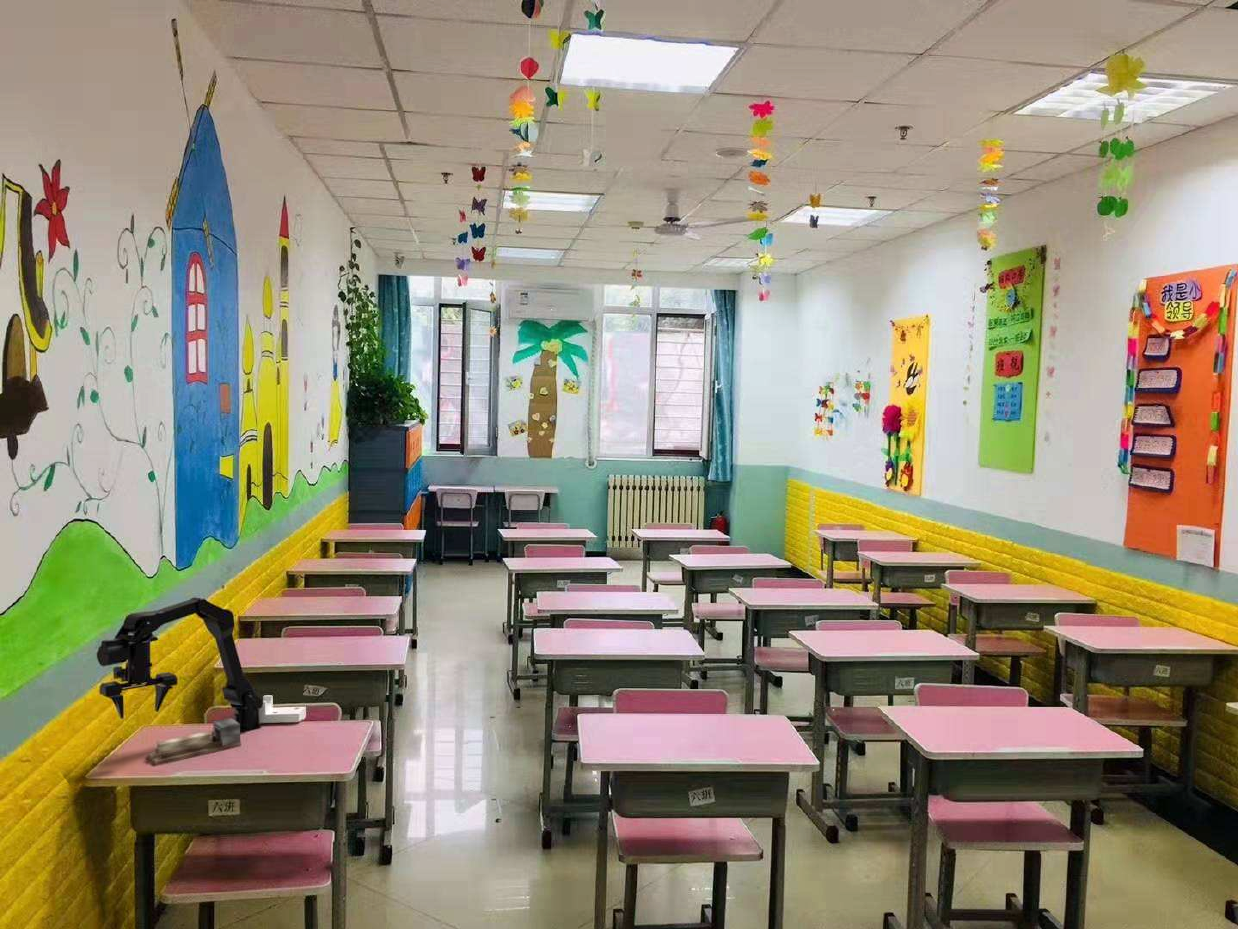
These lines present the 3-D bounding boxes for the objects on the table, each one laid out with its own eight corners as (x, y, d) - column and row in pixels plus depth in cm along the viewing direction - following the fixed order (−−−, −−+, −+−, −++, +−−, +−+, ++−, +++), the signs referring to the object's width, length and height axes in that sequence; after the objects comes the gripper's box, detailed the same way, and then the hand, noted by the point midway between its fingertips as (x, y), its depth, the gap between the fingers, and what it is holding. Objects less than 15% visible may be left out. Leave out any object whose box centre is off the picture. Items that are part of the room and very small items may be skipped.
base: (231, 738, 280) (230, 717, 280) (241, 745, 273) (240, 724, 273) (147, 757, 265) (146, 734, 265) (156, 765, 258) (155, 742, 258)
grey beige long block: (209, 743, 273) (209, 731, 273) (212, 745, 271) (212, 733, 271) (157, 754, 264) (157, 742, 264) (160, 757, 262) (160, 745, 262)
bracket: (257, 726, 292) (256, 702, 292) (265, 718, 299) (264, 695, 299) (299, 724, 293) (298, 701, 292) (306, 717, 300) (305, 694, 299)
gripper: (162, 649, 271) (163, 703, 272) (92, 660, 258) (92, 716, 258) (178, 655, 264) (178, 710, 264) (106, 666, 250) (106, 724, 250)
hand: (139, 715), depth 259 cm, fingers open, 9 cm apart
